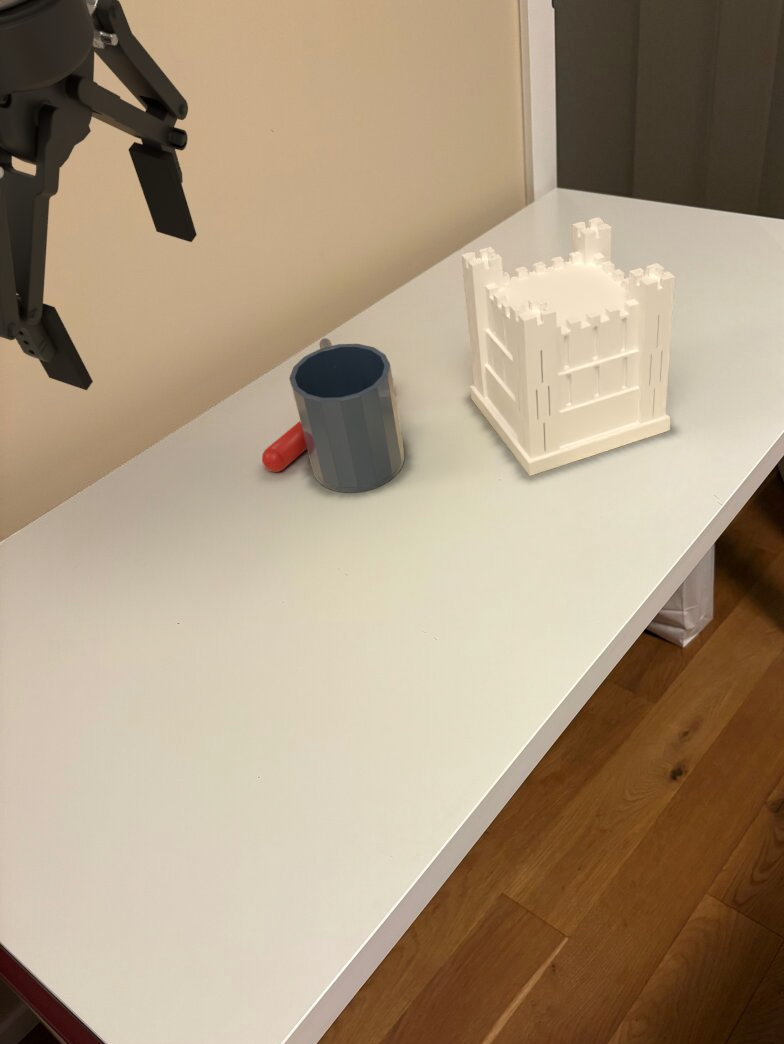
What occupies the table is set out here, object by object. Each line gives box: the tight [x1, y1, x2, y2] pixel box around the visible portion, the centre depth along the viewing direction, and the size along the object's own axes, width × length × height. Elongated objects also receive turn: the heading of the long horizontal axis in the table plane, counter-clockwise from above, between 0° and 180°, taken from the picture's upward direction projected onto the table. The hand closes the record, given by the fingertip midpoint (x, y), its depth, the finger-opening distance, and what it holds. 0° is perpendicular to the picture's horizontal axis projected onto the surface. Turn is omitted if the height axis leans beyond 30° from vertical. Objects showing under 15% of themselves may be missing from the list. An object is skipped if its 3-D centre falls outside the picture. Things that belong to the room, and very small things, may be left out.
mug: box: [288, 337, 405, 494], centre depth 86 cm, size 13×9×10 cm, turn 16°
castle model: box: [461, 216, 676, 477], centre depth 86 cm, size 14×14×15 cm
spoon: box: [261, 420, 307, 473], centre depth 93 cm, size 17×5×2 cm, turn 147°
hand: (126, 303), depth 62 cm, fingers open, 13 cm apart
